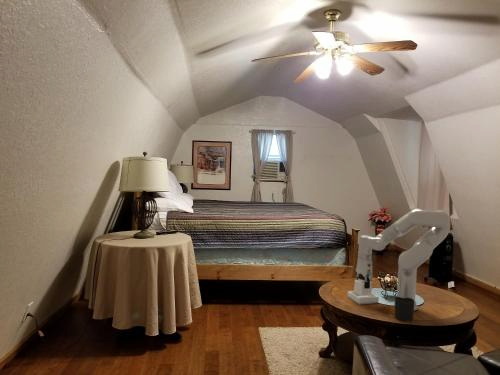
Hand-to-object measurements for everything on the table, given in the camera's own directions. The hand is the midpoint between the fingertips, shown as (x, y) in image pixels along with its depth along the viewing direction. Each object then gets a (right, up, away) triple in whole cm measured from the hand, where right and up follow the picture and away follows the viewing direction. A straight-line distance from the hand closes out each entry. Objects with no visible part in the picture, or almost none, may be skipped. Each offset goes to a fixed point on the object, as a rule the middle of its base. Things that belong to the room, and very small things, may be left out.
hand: (363, 285), depth 226 cm
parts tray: (0, -8, 0) cm, 8 cm away
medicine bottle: (0, -5, 0) cm, 5 cm away
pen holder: (+13, -10, -26) cm, 31 cm away
